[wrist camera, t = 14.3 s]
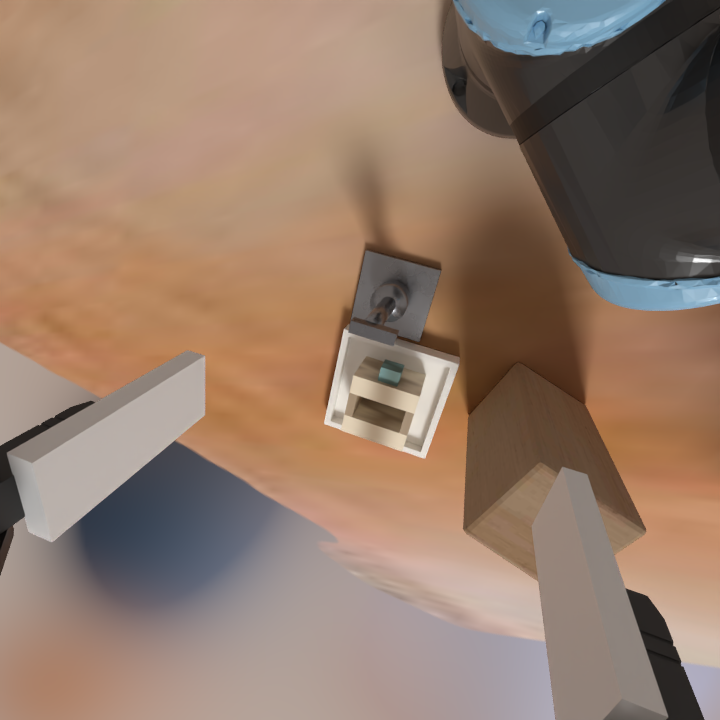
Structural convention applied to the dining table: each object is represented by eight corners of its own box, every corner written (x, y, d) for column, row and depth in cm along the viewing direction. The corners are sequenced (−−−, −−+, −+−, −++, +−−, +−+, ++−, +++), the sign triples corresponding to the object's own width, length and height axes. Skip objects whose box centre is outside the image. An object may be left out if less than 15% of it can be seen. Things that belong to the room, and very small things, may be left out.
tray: (349, 323, 52) (344, 329, 50) (459, 357, 50) (459, 364, 48) (329, 415, 58) (324, 423, 57) (426, 449, 56) (424, 458, 54)
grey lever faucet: (367, 249, 48) (329, 271, 36) (441, 269, 46) (428, 299, 34) (352, 319, 52) (313, 360, 40) (420, 339, 50) (401, 388, 38)
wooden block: (530, 458, 53) (557, 596, 35) (466, 416, 53) (460, 532, 35) (587, 405, 48) (651, 534, 30) (517, 359, 48) (540, 460, 30)
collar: (353, 407, 56) (340, 430, 51) (369, 343, 52) (356, 361, 46) (409, 425, 55) (402, 451, 49) (429, 362, 50) (424, 383, 45)
